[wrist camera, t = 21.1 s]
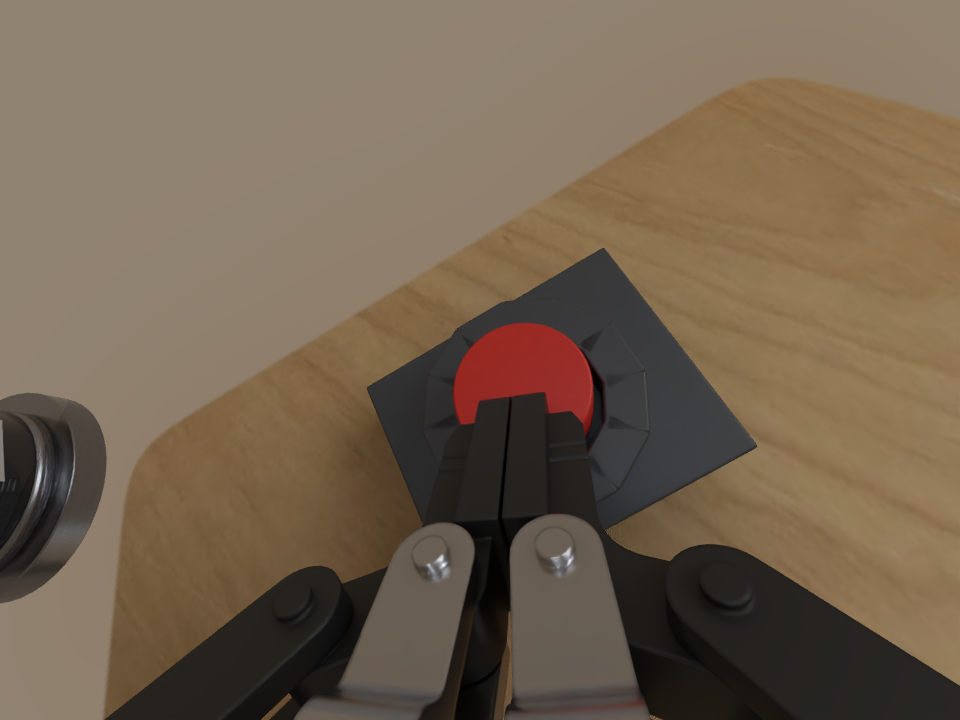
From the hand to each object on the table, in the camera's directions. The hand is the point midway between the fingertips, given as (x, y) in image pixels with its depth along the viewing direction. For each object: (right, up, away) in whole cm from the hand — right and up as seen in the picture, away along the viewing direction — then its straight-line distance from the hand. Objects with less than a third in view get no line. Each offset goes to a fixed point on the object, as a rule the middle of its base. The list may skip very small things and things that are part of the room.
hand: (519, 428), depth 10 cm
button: (+1, 0, +3) cm, 3 cm away
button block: (+2, -1, +7) cm, 7 cm away
